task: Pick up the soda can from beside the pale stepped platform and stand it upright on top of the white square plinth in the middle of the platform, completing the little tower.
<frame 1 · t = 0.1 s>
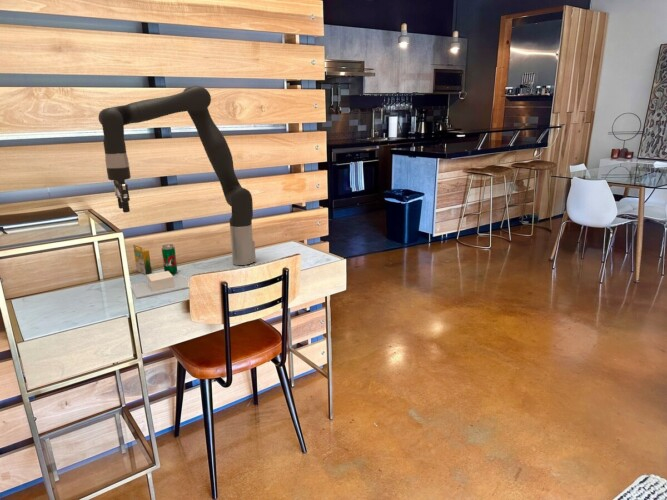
hand: (124, 210, 171), 29 cm above the table, tool pointing down, fingers open, 8 cm apart
crayon box: (144, 272, 192), on the table
pale stepped platform: (161, 287, 176), on the table
soda can: (171, 273, 191), on the table
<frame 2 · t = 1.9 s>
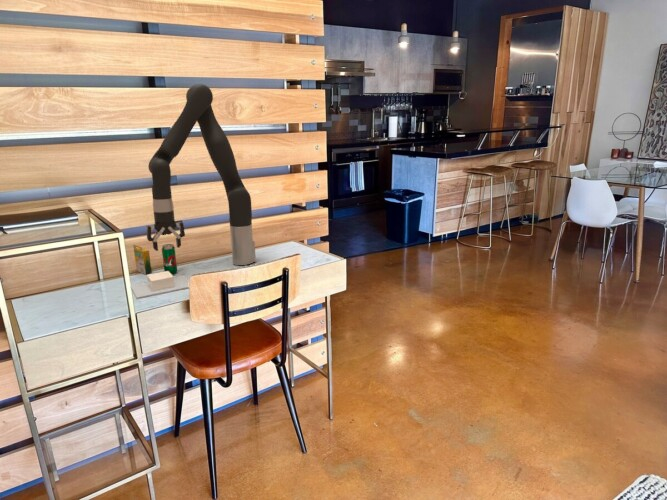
hand: (167, 248, 187), 11 cm above the table, tool pointing down, fingers open, 8 cm apart
nothing on the table moved.
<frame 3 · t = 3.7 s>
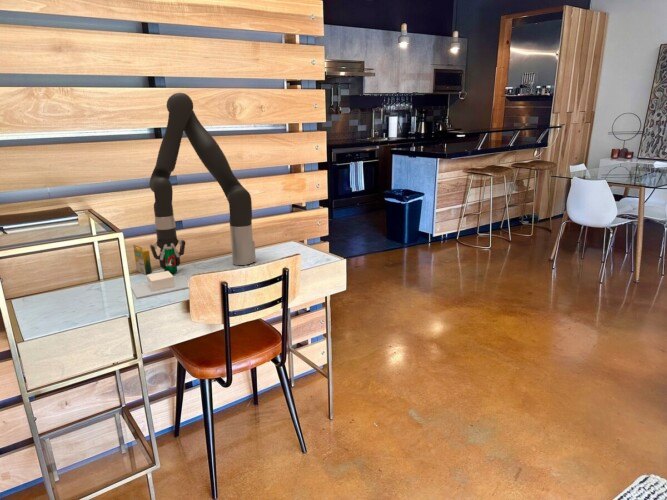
hand: (170, 266, 190), 3 cm above the table, tool pointing down, fingers closed on soda can, 5 cm apart
soda can: (171, 273, 191), on the table, touching gripper
everything else where it was.
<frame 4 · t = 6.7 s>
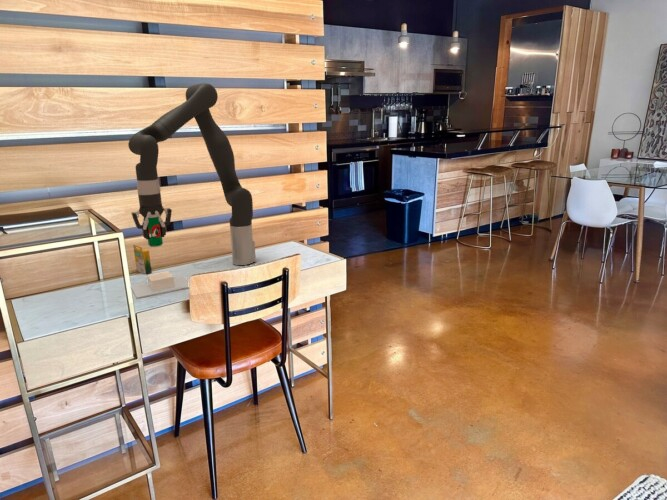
hand: (154, 237, 170), 19 cm above the table, tool pointing down, fingers closed on soda can, 5 cm apart
soda can: (155, 245, 171), point 16 cm above the table, touching gripper
everything else where it was.
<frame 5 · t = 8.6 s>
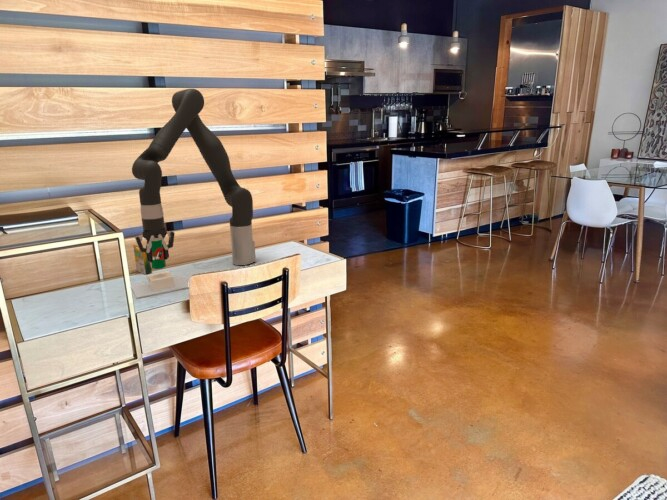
hand: (158, 260, 173), 11 cm above the table, tool pointing down, fingers closed on soda can, 5 cm apart
soda can: (159, 268, 173), point 8 cm above the table, touching gripper
everything else where it was.
when the fingers open (9 cm above the table, at t = 10.1 s): soda can drops 1 cm, resting on pale stepped platform.
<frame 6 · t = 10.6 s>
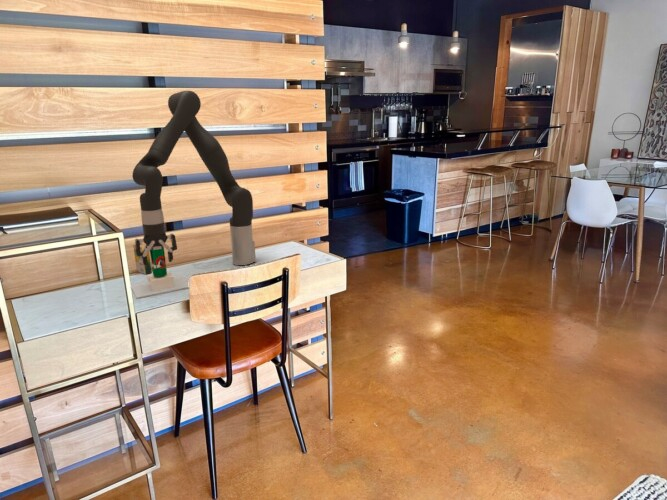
hand: (158, 263, 173), 10 cm above the table, tool pointing down, fingers open, 8 cm apart
soda can: (160, 276, 174), point 4 cm above the table, touching pale stepped platform
everything else where it was.
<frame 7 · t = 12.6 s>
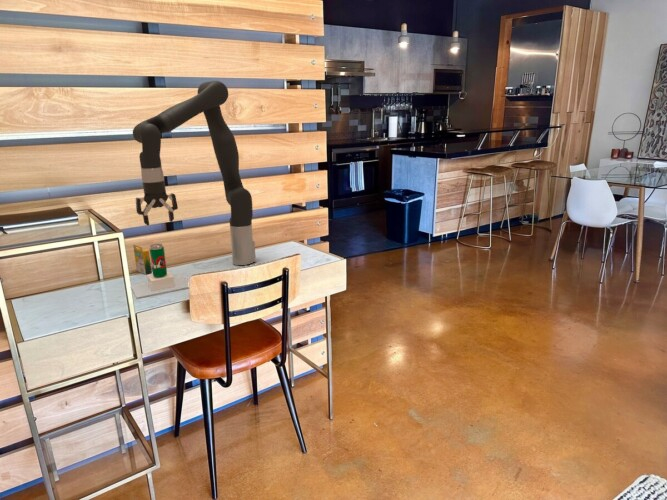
hand: (159, 223, 173), 24 cm above the table, tool pointing down, fingers open, 8 cm apart
nothing on the table moved.
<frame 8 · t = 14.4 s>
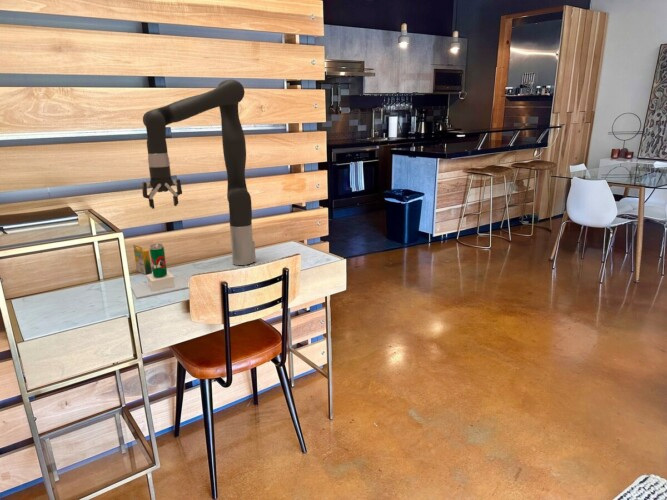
hand: (164, 207, 181), 28 cm above the table, tool pointing down, fingers open, 8 cm apart
nothing on the table moved.
at the end: soda can 0.1 cm off-centre on the pale stepped platform, point 4.4 cm above the pale stepped platform's base; soda can tilted 0°; the gripper is holding nothing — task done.
